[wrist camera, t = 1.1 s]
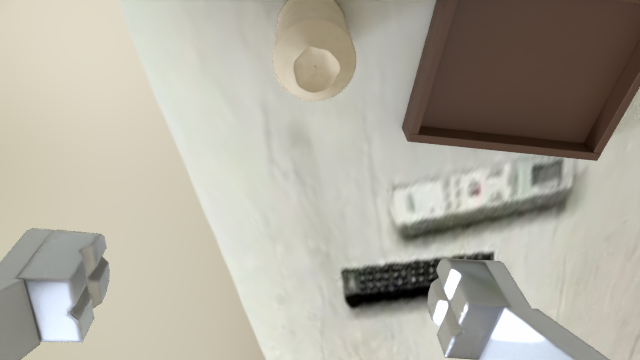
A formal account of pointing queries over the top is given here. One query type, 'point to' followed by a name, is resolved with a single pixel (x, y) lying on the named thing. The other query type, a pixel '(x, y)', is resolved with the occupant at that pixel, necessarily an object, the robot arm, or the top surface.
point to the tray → (526, 75)
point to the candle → (313, 49)
